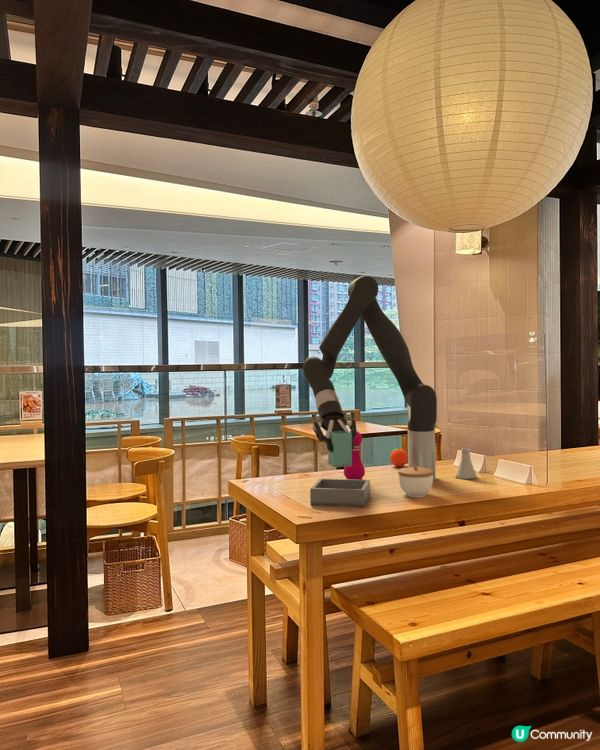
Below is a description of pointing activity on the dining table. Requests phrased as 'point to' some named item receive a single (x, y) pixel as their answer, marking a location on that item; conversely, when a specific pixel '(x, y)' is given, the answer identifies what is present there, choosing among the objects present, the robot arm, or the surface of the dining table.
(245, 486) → the dining table surface
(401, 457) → the clementine
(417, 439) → the robot arm
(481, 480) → the dining table surface
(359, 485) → the tray
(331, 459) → the teal crate
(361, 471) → the pepper mill
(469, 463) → the flask
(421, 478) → the lidded jar
